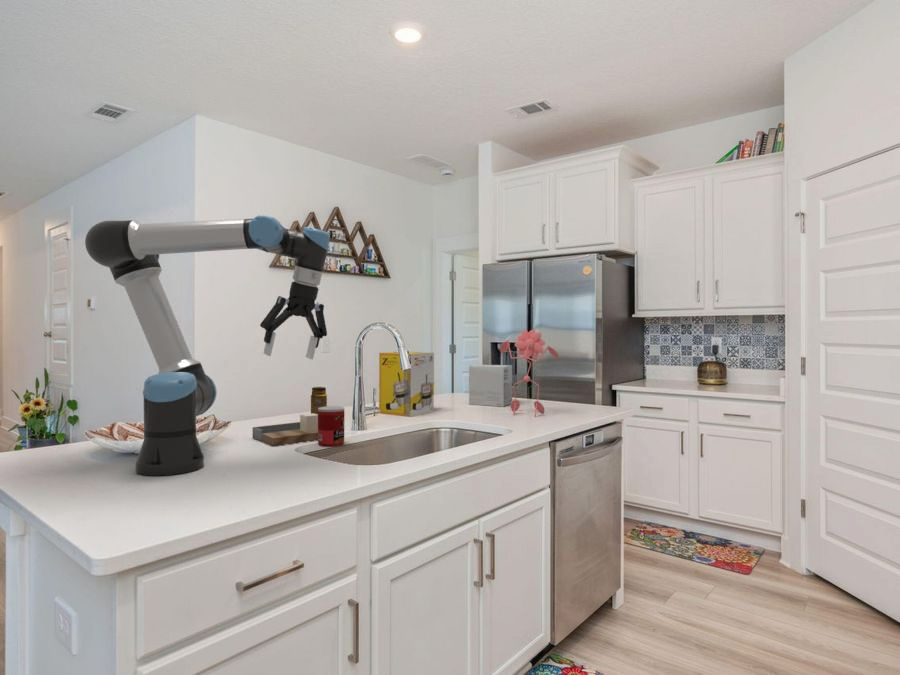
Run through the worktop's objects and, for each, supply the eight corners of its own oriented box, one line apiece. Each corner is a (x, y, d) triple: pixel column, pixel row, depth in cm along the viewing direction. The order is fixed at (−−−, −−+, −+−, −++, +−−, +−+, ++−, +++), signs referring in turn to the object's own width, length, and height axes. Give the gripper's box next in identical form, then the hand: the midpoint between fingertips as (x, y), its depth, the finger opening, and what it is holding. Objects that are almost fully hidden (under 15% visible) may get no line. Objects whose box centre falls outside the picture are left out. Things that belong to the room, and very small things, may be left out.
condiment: (330, 417, 220) (330, 386, 220) (321, 420, 212) (321, 389, 212) (313, 416, 222) (313, 386, 221) (303, 420, 213) (303, 388, 213)
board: (273, 446, 165) (273, 438, 165) (261, 441, 172) (261, 433, 172) (333, 438, 178) (333, 430, 178) (320, 434, 185) (320, 426, 185)
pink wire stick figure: (555, 418, 219) (556, 329, 220) (493, 413, 231) (494, 329, 231) (565, 414, 233) (566, 330, 233) (506, 410, 245) (507, 329, 245)
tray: (261, 441, 172) (261, 430, 172) (252, 438, 178) (252, 427, 178) (320, 434, 185) (320, 423, 185) (310, 430, 191) (310, 420, 191)
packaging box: (411, 416, 222) (411, 353, 222) (379, 413, 231) (379, 352, 230) (433, 411, 236) (434, 352, 235) (402, 408, 244) (403, 351, 244)
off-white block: (306, 432, 175) (306, 416, 175) (300, 430, 178) (300, 414, 178) (319, 430, 178) (319, 415, 178) (313, 428, 181) (313, 413, 181)
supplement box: (512, 403, 263) (513, 365, 263) (503, 407, 251) (504, 366, 251) (478, 401, 270) (478, 363, 270) (468, 404, 258) (468, 365, 258)
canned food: (338, 447, 165) (338, 410, 165) (313, 446, 167) (313, 409, 166) (348, 442, 172) (348, 406, 172) (324, 441, 174) (324, 405, 174)
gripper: (272, 278, 145) (254, 356, 147) (349, 293, 163) (332, 363, 166) (258, 273, 150) (241, 349, 152) (334, 288, 168) (318, 356, 171)
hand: (288, 356), depth 159 cm, fingers open, 13 cm apart
